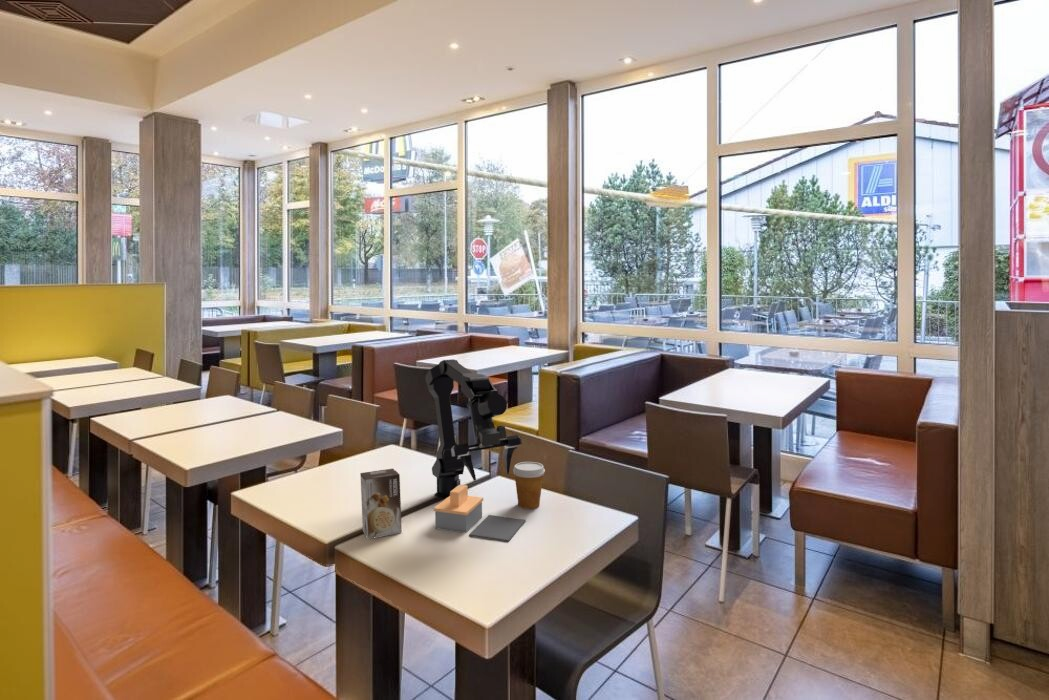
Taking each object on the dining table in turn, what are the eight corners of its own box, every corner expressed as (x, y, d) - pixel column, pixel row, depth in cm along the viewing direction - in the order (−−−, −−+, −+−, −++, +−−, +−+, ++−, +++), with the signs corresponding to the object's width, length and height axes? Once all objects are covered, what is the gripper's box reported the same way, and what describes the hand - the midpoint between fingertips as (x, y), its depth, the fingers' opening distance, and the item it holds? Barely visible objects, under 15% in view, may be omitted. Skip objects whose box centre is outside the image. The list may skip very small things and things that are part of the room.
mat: (469, 536, 155) (469, 534, 155) (488, 516, 168) (488, 514, 168) (508, 541, 152) (508, 539, 152) (525, 521, 165) (525, 519, 165)
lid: (433, 513, 159) (433, 493, 159) (452, 499, 170) (452, 480, 169) (466, 518, 156) (466, 497, 156) (483, 503, 167) (483, 483, 166)
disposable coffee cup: (545, 500, 181) (546, 461, 180) (543, 511, 172) (543, 471, 171) (514, 498, 182) (514, 460, 181) (511, 510, 173) (511, 470, 172)
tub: (435, 528, 160) (435, 510, 159) (452, 513, 170) (452, 496, 170) (466, 533, 157) (466, 514, 156) (482, 517, 167) (481, 500, 167)
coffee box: (395, 524, 162) (394, 467, 161) (402, 533, 157) (401, 474, 155) (361, 530, 158) (360, 472, 156) (367, 540, 153) (365, 479, 151)
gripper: (453, 422, 154) (462, 483, 151) (521, 412, 159) (532, 470, 156) (447, 427, 164) (455, 484, 161) (511, 416, 170) (521, 471, 167)
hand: (491, 477), depth 161 cm, fingers open, 9 cm apart
